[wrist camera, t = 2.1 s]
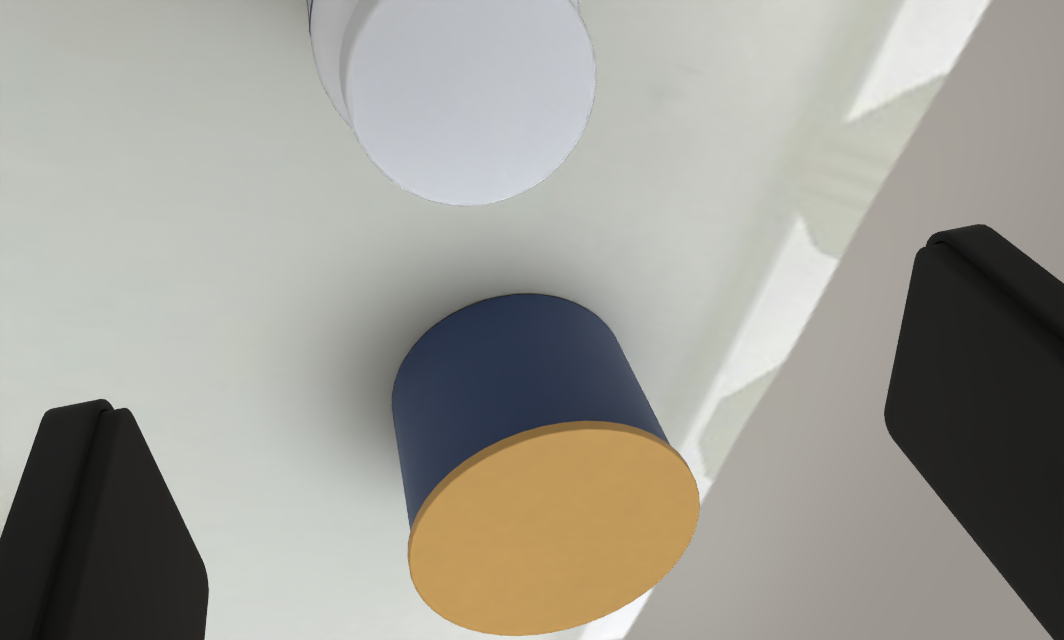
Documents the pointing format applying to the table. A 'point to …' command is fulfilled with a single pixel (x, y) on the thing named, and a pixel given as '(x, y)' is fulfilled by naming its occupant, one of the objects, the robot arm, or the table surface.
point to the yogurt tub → (534, 470)
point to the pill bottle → (458, 89)
